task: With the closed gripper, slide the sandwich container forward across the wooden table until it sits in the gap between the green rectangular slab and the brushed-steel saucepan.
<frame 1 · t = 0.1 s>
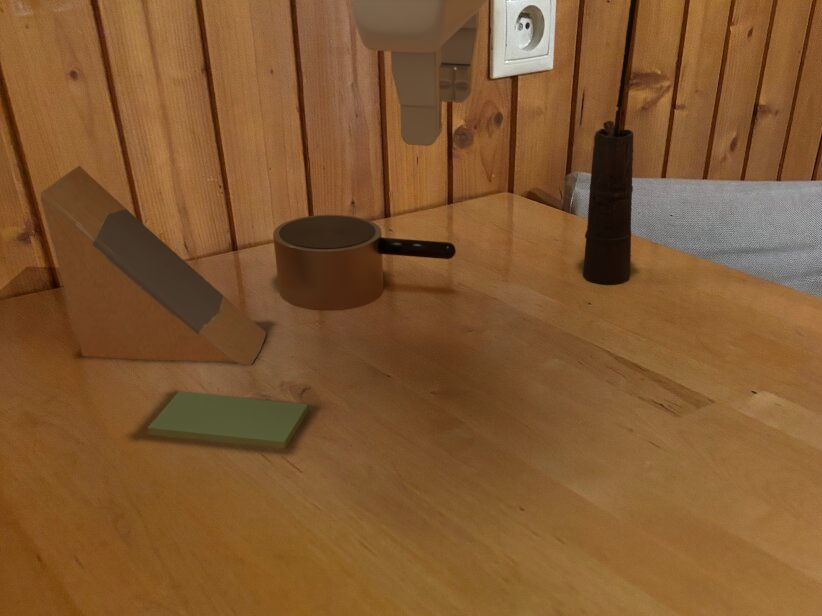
hand: (439, 119, 50), 26 cm above the table, tool pointing down, fingers open, 8 cm apart
green rectangular slab: (227, 432, 76), on the table
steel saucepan: (331, 289, 99), on the table
butter churn: (601, 274, 104), on the table
sandwich container: (179, 350, 88), on the table
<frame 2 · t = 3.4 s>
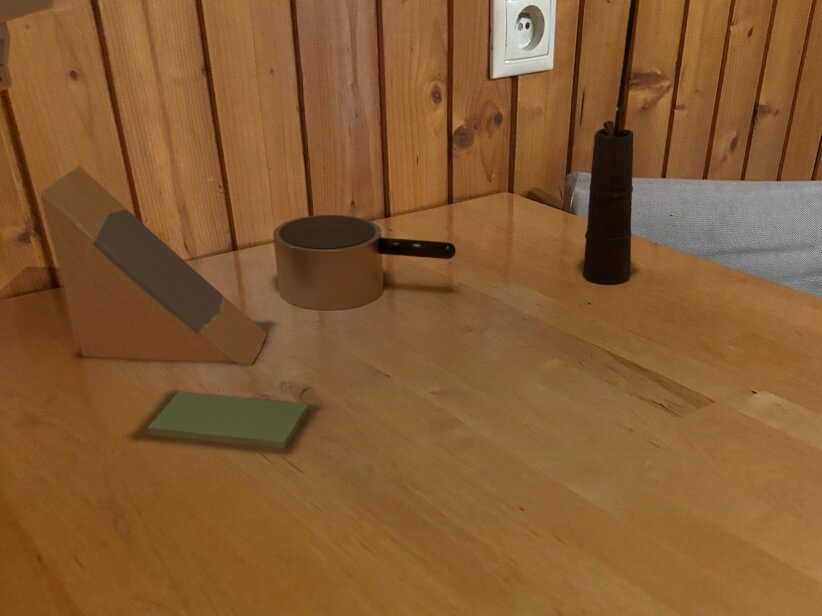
nothing on the table moved.
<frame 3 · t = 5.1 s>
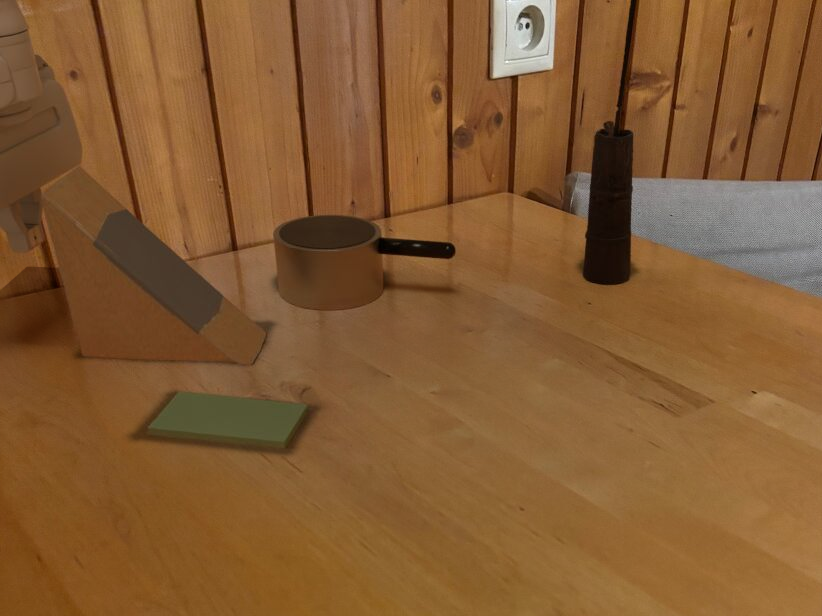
hand: (29, 247, 84), 9 cm above the table, tool pointing down, fingers closed
nothing on the table moved.
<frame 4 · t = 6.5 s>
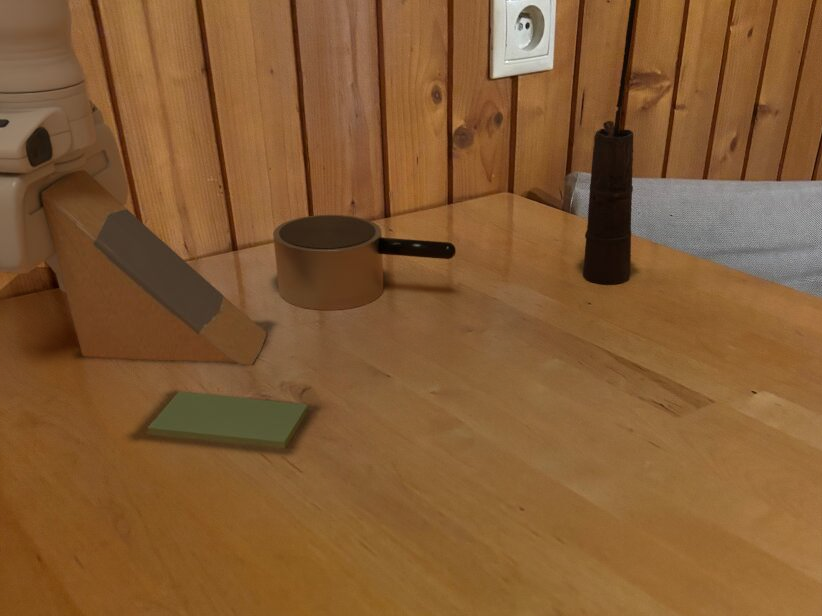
hand: (77, 286, 86), 5 cm above the table, tool pointing down, fingers closed
sandwich container: (179, 350, 88), on the table, touching gripper
everything else where it was.
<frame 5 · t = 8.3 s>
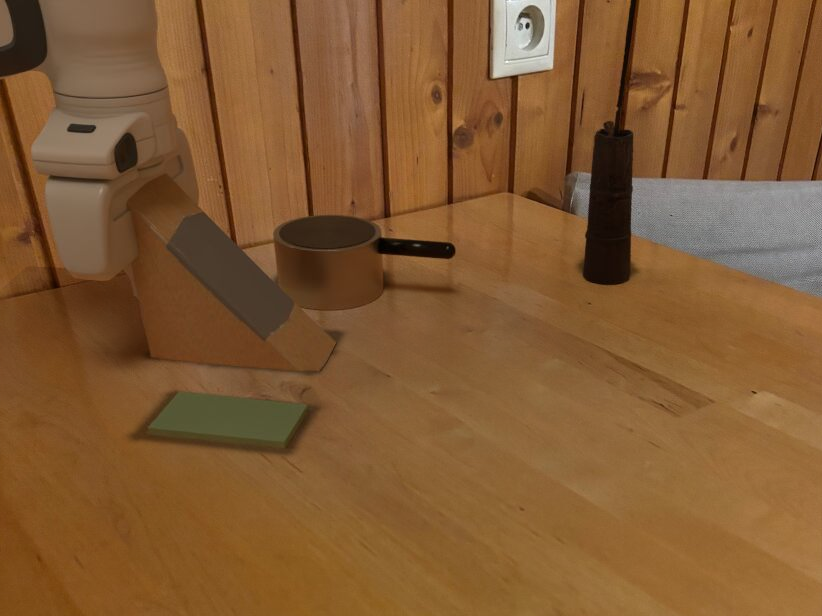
hand: (150, 293, 85), 5 cm above the table, tool pointing down, fingers closed, pressing on sandwich container
sandwich container: (247, 356, 87), on the table, touching gripper
everything else where it was.
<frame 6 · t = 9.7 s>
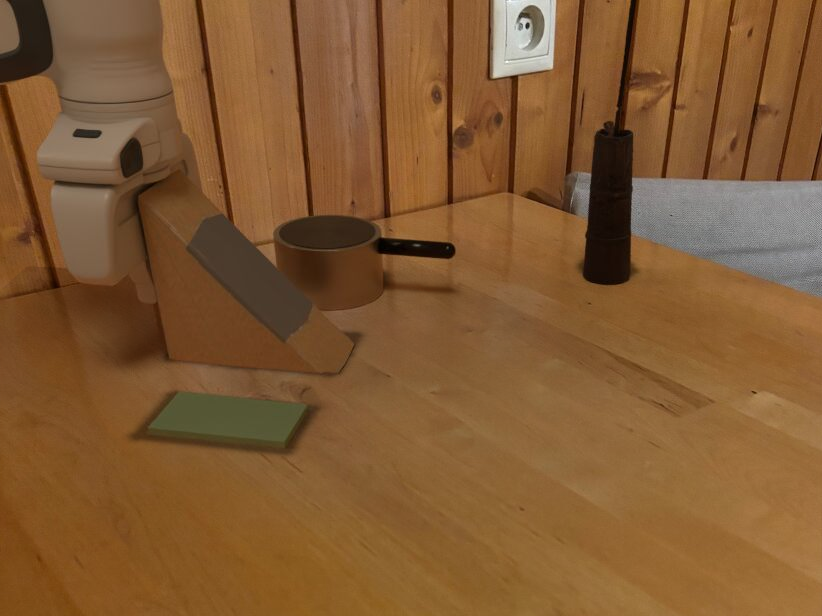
hand: (154, 297, 85), 5 cm above the table, tool pointing down, fingers closed
sandwich container: (265, 358, 87), on the table
everything else where it was.
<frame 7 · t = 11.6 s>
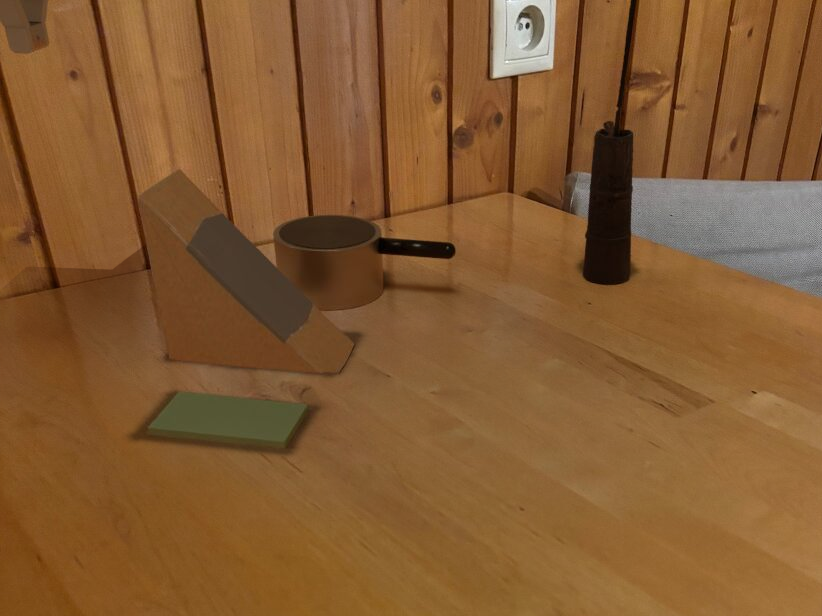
hand: (30, 50, 73), 24 cm above the table, tool pointing down, fingers closed
nothing on the table moved.
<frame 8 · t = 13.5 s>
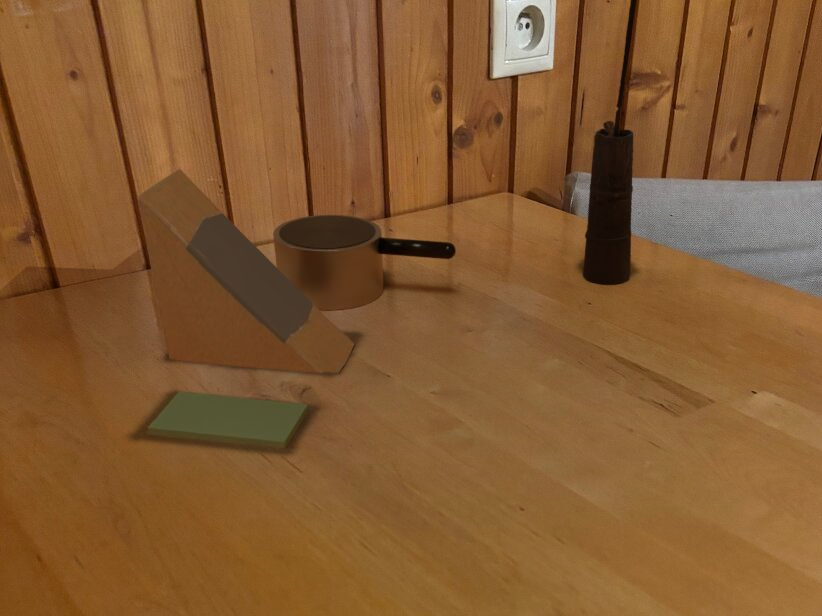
nothing on the table moved.
at the end: sandwich container inside the target area on the table beside the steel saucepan (1.9 cm from its centre), on the table; sandwich container inside the target area on the table beside the green rectangular slab (1.9 cm from its centre), on the table; sandwich container tilted 0° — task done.
